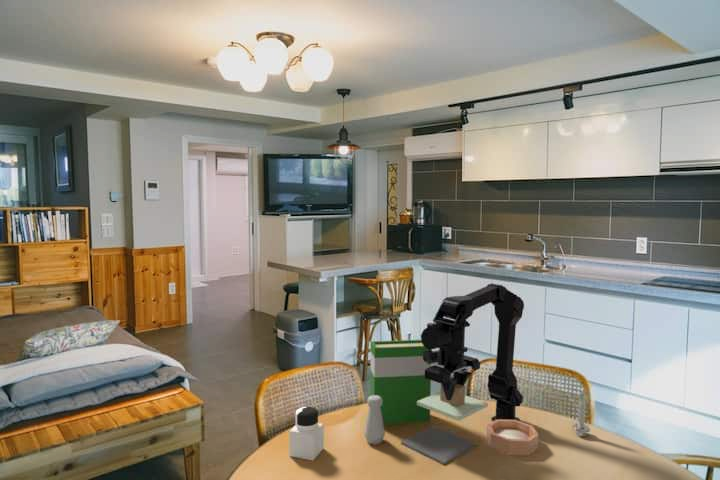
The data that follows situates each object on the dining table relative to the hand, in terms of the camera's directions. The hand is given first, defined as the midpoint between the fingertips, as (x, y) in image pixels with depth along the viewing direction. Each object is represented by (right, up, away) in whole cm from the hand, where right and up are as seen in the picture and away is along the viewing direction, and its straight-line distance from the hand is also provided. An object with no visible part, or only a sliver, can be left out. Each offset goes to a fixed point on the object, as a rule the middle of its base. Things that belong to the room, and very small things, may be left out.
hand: (452, 398), depth 135 cm
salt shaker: (-22, -13, +3) cm, 25 cm away
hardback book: (-13, -12, +18) cm, 25 cm away
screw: (+40, -13, +8) cm, 42 cm away
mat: (-4, -13, +1) cm, 14 cm away
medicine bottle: (-40, -14, -4) cm, 43 cm away
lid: (0, -2, 0) cm, 2 cm away
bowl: (+17, -13, +2) cm, 22 cm away
